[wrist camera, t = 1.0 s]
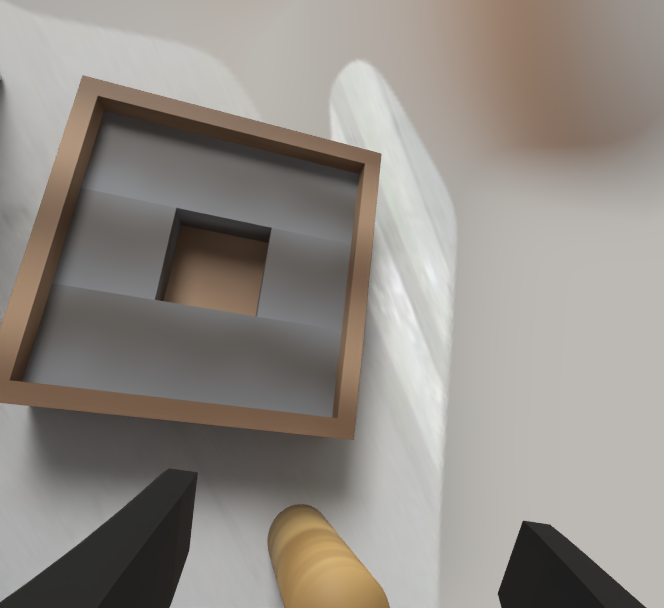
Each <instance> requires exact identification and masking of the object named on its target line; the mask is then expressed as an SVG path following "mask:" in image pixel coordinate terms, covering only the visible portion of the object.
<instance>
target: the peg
mask: <svg viewBox="0 0 664 608" xmlns="http://www.w3.org/2000/svg"><path fill="white" fill-rule="evenodd" d="M268 550H269V554H270V558H271V561H272V565H273V568H274V572H275V576H276V579H277V583H278V587H279V590H280V594H281V597H282V601H283V605H284V608H390V607H389V603H388V600H387V597H386V595H385V592H384V590H383V589H382V587H381V586H380V584H379V583H378V582H377V581H376V580H375V578H374V577H373V576H372V575H371V573H370V572H369V571H368V570H367V569H366V567H365V566H364V565H363V564H362V563H361V561H360V560H359V559H358V558H357V556H356V555H355V554H354V553H353V552H352V550H351V549H350V548H349V547H348V546H347V544H346V543H345V542H344V541H343V539H342V538H341V537H340V536H339V535H338V533H337V532H336V531H335V530H334V528H333V527H332V526H331V525H330V524H329V522H328V521H327V520H326V519H325V518H324V516H323V515H322V514H321V513H320V512H319V511H318V510H317V509H315V508H314V507H312V506H309V505H304V504H298V505H293V506H290V507H288V508H286V509H285V510H283V511H282V512H281V513H280V514H279V515H278V516H277V517H276V518H275V519H274V521H273V523H272V525H271V527H270V530H269V534H268Z"/></svg>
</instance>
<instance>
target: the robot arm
mask: <svg viewBox="0 0 664 608" xmlns="http://www.w3.org/2000/svg"><path fill="white" fill-rule="evenodd" d="M197 474H198V473H196V472H189V471H183V470H176V469H168V470H166V471H165V472H163V473H162V474H161V475H160V476H159V477H157V478H156V479H155V480H154V481H153V482H152V483H151V484H150V485H148V486H147V487H146V488H145V489H144V490H143V491H142V492H141V493H139V494H138V495H137V496H136V497H135V498H134V499H133V500H131V501H130V502H129V503H128V504H127V505H126V506H124V507H123V508H122V509H121V510H120V511H119V512H117V513H116V514H115V515H114V516H113V517H111V518H110V519H109V520H108V521H106V522H105V523H104V524H103V525H102V526H100V527H99V528H98V529H97V530H95V531H94V532H93V533H92V534H91V535H89V536H88V537H87V538H86V539H84V540H83V541H82V542H81V543H79V544H78V545H77V546H76V547H74V548H73V549H72V550H70V551H69V552H68V553H66V554H65V555H64V556H62V557H61V558H60V559H58V560H57V561H56V562H54V563H53V564H52V565H50V566H49V567H48V568H46V569H45V570H44V571H43V572H41V573H40V574H39V575H37V576H36V577H35V578H33V579H32V580H31V581H29V582H28V583H26V584H25V585H24V586H22V587H21V588H20V589H18V590H17V591H15V592H14V593H12V594H11V595H10V596H8V597H7V598H5V599H4V600H3V601H1V602H0V608H169V607H170V605H171V602H172V599H173V597H174V594H175V591H176V588H177V585H178V582H179V579H180V576H181V573H182V570H183V567H184V564H185V561H186V558H187V555H188V552H189V547H190V538H191V528H192V519H193V510H194V501H195V492H196V483H197ZM498 596H499V600H500V604H501V607H502V608H646V607H645V606H644V605H642V604H641V603H640V602H639V601H638V600H637V599H636V598H634V597H633V596H632V595H631V594H630V593H629V592H628V591H627V590H625V589H624V588H623V587H622V586H621V585H620V584H619V583H617V582H616V581H615V580H614V579H613V578H612V577H611V576H609V575H608V574H607V573H606V572H605V571H604V570H602V569H601V568H600V567H599V566H598V565H597V564H596V563H595V562H594V561H592V560H591V559H590V558H589V557H588V556H587V555H586V554H584V553H583V552H582V551H581V550H580V549H579V548H577V547H576V546H575V545H574V544H573V543H572V542H570V541H569V540H568V539H567V538H566V537H565V536H563V535H562V534H561V533H560V532H558V531H557V530H556V529H555V528H553V527H552V526H551V525H548V524H542V523H535V522H528V521H523V522H522V525H521V528H520V531H519V534H518V537H517V540H516V542H515V545H514V548H513V551H512V554H511V557H510V560H509V563H508V565H507V568H506V571H505V574H504V577H503V580H502V583H501V586H500V588H499V591H498Z"/></svg>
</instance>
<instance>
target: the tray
mask: <svg viewBox="0 0 664 608" xmlns="http://www.w3.org/2000/svg"><path fill="white" fill-rule="evenodd" d="M380 163H381V153H377V152H373V151H369V150H365V149H362V148H358V147H354V146H350V145H346V144H343V143H339V142H335V141H331V140H327V139H323V138H320V137H316V136H312V135H308V134H304V133H301V132H297V131H293V130H289V129H285V128H281V127H278V126H274V125H270V124H266V123H263V122H259V121H255V120H251V119H247V118H243V117H240V116H236V115H232V114H228V113H224V112H221V111H217V110H213V109H209V108H205V107H202V106H198V105H194V104H190V103H186V102H182V101H179V100H175V99H171V98H167V97H163V96H160V95H156V94H152V93H148V92H144V91H141V90H137V89H133V88H129V87H125V86H121V85H118V84H114V83H110V82H106V81H102V80H99V79H95V78H91V77H87V76H82V79H81V82H80V85H79V88H78V91H77V94H76V97H75V100H74V103H73V107H72V110H71V113H70V116H69V119H68V122H67V125H66V128H65V131H64V134H63V137H62V140H61V143H60V146H59V149H58V153H57V156H56V159H55V162H54V165H53V168H52V171H51V174H50V177H49V180H48V183H47V186H46V189H45V192H44V195H43V199H42V202H41V205H40V208H39V211H38V214H37V217H36V220H35V223H34V226H33V229H32V232H31V235H30V238H29V241H28V245H27V248H26V251H25V254H24V257H23V260H22V263H21V266H20V269H19V272H18V275H17V278H16V281H15V284H14V288H13V291H12V294H11V297H10V300H9V303H8V306H7V309H6V312H5V315H4V318H3V321H2V324H1V327H0V403H8V404H17V405H27V406H36V407H46V408H55V409H65V410H74V411H84V412H93V413H103V414H112V415H122V416H131V417H141V418H150V419H160V420H169V421H179V422H188V423H198V424H207V425H217V426H226V427H236V428H245V429H255V430H264V431H274V432H283V433H293V434H302V435H312V436H321V437H331V438H340V439H350V440H354V431H355V420H356V410H357V400H358V389H359V379H360V369H361V359H362V348H363V338H364V328H365V317H366V307H367V297H368V287H369V276H370V266H371V256H372V245H373V235H374V225H375V215H376V204H377V194H378V184H379V173H380Z"/></svg>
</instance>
